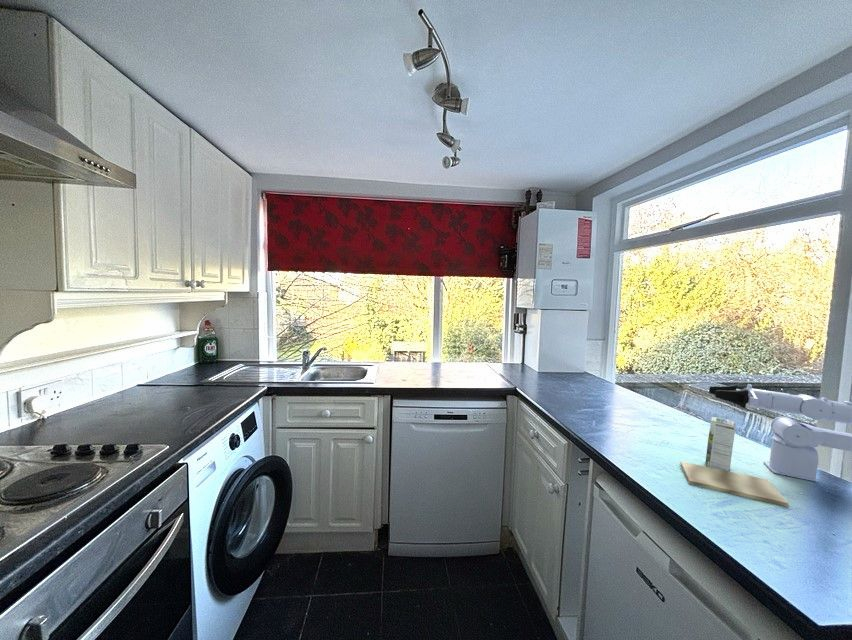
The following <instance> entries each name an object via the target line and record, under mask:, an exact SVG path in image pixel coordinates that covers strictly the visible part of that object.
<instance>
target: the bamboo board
mask: <svg viewBox="0 0 852 640" xmlns="http://www.w3.org/2000/svg"><path fill="white" fill-rule="evenodd" d="M680 464H681V465H680V467H681V466H682V467H681V470H682V471H683V473H685V474H684V476H685V478H686V481H687V482H689V483H688V484H689V485H691V484H692V485H691V486H696V485H697V486H696V487H700V486H701V487H700V488H705V489H708V488H709V490H713V491H718V492H722V493H726V494H730V495H735V496H739V497H743V498H748V499H752V500H756V501H761V502H764V503H770V504H772V505H773V504H774V505H778V506H782V507H785V508H786V507H787V508H788V507H789V502H788V501H787V500H786V499H785V498H784V496H783V495H782V494H781V493H780V492H779V491H778V490H777V489H776V488H775V486H773V484H772V483H771V482H770V480H768V479H767V478H763V477H762V478H761V477H757V476H752V475H748V474H743V473H739V472H734V471H725V470H720V469H715V468H710V467H706V466H704V465H699V464H696V463H691V462H690V463H689V462H687V461H680Z"/></svg>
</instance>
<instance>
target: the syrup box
mask: <svg viewBox="0 0 852 640" xmlns="http://www.w3.org/2000/svg"><path fill="white" fill-rule="evenodd" d="M708 431H709V432H708V438H707V447H706V453H705V455H706V456H705V464H704V465H705V466H706V467H710V468H715V469H720V470H725V471H729V472H731V471H730V469H731V462H732V455H733V448H734V441H735V432H736V422H735V421H733V420H730V419H726V418H722V417H718V416H717V417H716V416H711V420H710V427H709V430H708Z"/></svg>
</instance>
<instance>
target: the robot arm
mask: <svg viewBox="0 0 852 640" xmlns="http://www.w3.org/2000/svg"><path fill="white" fill-rule="evenodd" d="M737 387H738V385H737V384H736V383H735V384H730V385H723V386H722V385H721V386H720V385H719V386H717V385H716V386H715V385H713V386H709V388H708V390H709V391H708V393H709V394H711V395H714V397H715V398H716V399H719V400H723V401H726V402H730V403H732V404H734V405H737V406H738V407H741V408H743V409H745V408H755V409H762V410H767V411H773V412H781V413H786V414H795V415H803V416H805V417H806V418H809V419H812V420H815V421H817V420H825V421H831V422H836V423H841V424H845V425H850V426H851V425H852V402H851V401H847V400H844V401H843V402H841V401H835V400H830V399H829V398H828V397H824V396H822V397H820V398H819V399H818V398H816V397H814V396H812V395H807V394H806V393H800V394H791V393H788V392H787V393H785V392H779V391H772V390H765V389H760V388H759V389H758V388H753V385H752V384H751V383H750V384H749V383H747V385H746V387H744V388H742V389H737ZM770 428H771V430H772V432H773V433H774V435H772V437H771V439H772V440H771V447H770V456H769V461H766V460H763V464H764V465H766V467H767V468H768V470H770V471H771V472H772V473H773V474H778V475H782V476H786V475H787V477H792V478H797V479H801V480H806V481H813V482H818V479H817V473H818V465H819V454H818V451H817V449H816V448H818V447H819V446H820V447H825V448H826V447H827V448H831V449H837V450H840V451H841V450H842V451H847V452H851V453H852V433H850V432H845V431H838V430H834V429H833V430H832V429H828V428H823V427H822V428H821V427H817V426H813V425H810V424H809V423H804V422H800V421H796V420H795V419H793V418H791V417H789V416H778V417H775V418H774V419H772V421H771V422H770Z"/></svg>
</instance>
